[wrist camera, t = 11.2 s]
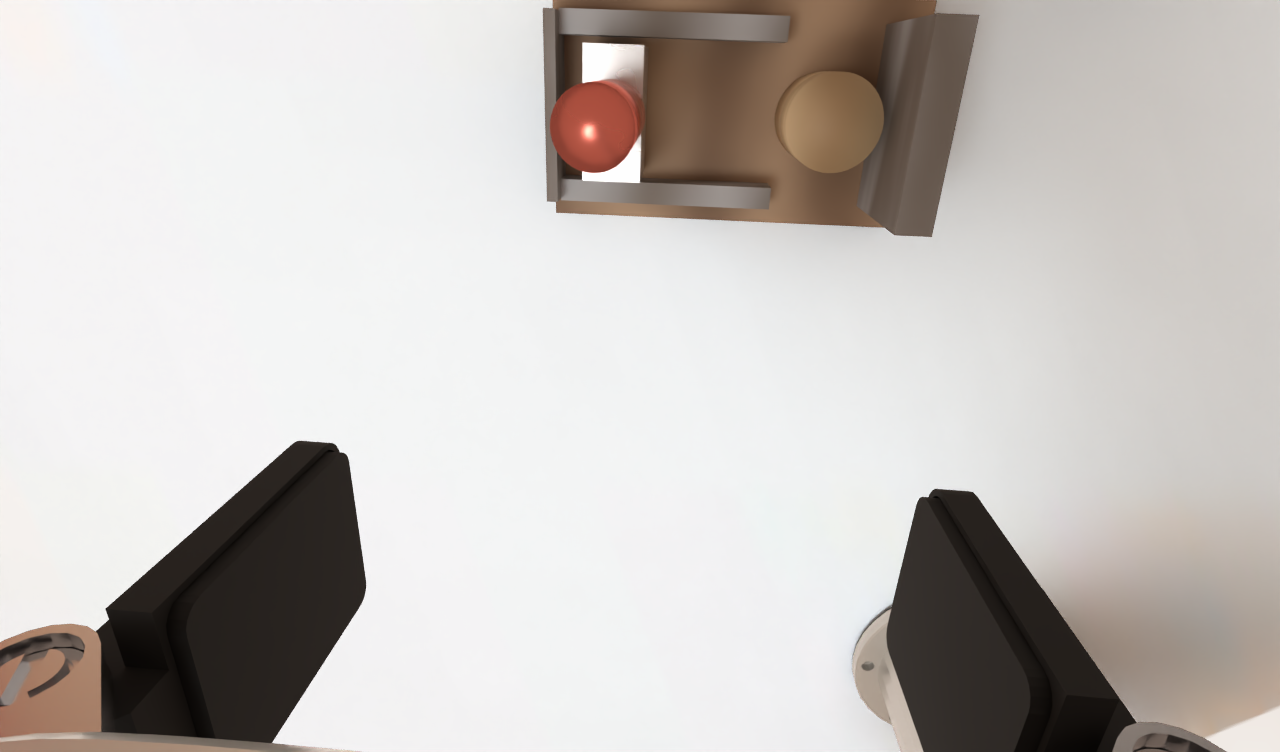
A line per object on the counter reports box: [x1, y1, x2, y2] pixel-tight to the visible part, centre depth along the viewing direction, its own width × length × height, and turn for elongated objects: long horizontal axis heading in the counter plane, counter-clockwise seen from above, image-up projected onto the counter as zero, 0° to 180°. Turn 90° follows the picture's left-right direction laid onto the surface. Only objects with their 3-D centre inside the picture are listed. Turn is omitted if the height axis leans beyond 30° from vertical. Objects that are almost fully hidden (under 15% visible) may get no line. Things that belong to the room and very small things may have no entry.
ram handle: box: [550, 43, 648, 183], centre depth 27 cm, size 3×5×11 cm, turn 178°
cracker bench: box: [543, 0, 979, 237], centre depth 30 cm, size 17×10×8 cm, turn 88°
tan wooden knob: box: [775, 71, 884, 173], centre depth 30 cm, size 4×4×4 cm
